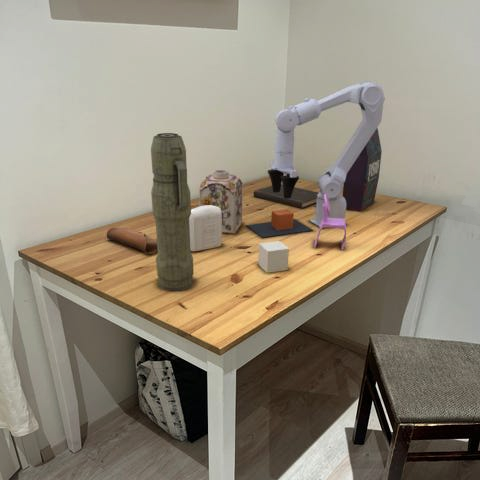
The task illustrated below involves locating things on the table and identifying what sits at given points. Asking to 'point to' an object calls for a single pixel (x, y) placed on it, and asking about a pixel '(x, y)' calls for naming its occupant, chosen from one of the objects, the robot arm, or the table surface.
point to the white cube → (273, 256)
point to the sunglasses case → (133, 239)
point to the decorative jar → (223, 198)
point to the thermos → (171, 212)
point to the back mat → (268, 231)
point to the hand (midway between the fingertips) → (281, 195)
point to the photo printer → (205, 227)
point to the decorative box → (363, 176)
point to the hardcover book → (298, 198)
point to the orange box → (282, 219)
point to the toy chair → (330, 221)
